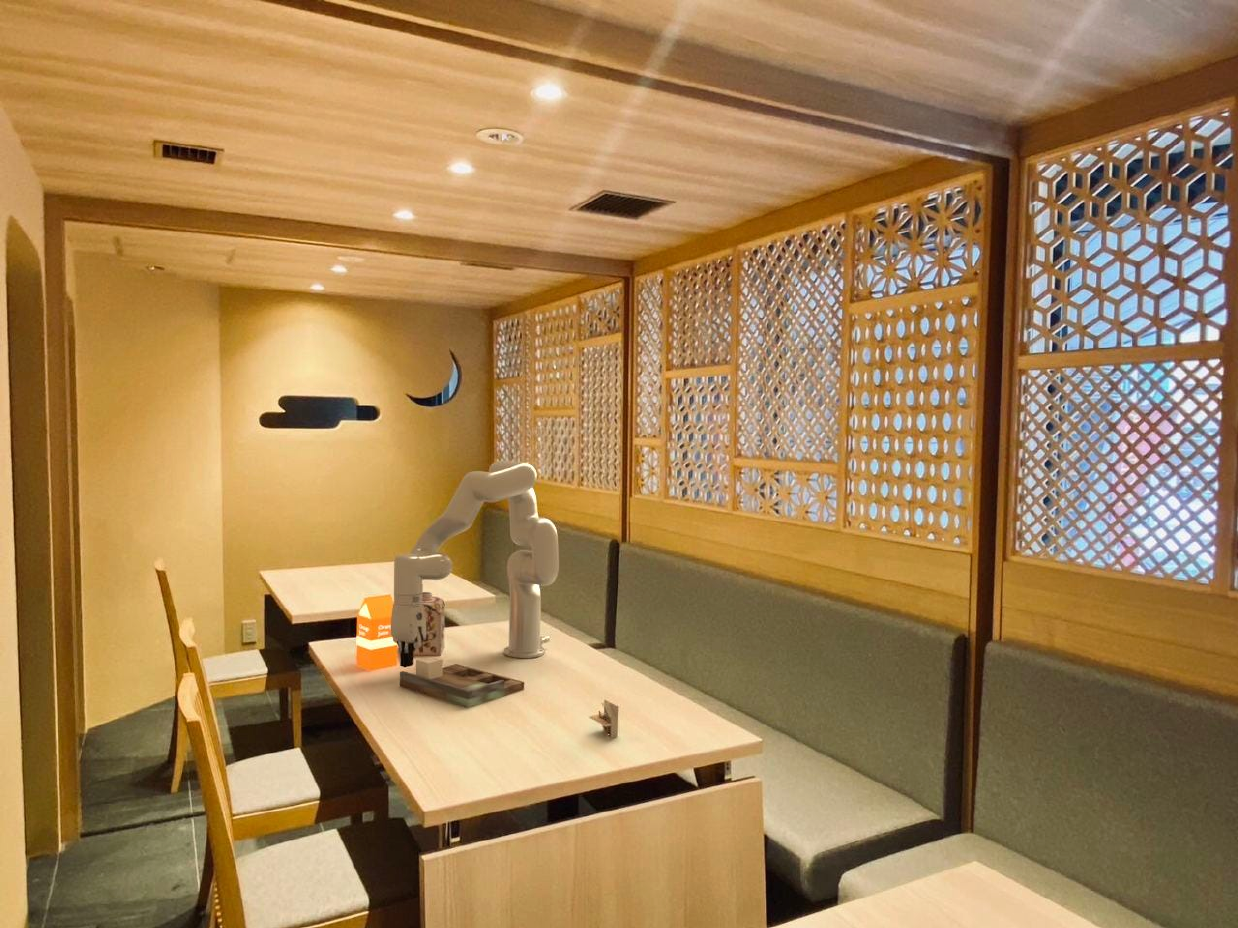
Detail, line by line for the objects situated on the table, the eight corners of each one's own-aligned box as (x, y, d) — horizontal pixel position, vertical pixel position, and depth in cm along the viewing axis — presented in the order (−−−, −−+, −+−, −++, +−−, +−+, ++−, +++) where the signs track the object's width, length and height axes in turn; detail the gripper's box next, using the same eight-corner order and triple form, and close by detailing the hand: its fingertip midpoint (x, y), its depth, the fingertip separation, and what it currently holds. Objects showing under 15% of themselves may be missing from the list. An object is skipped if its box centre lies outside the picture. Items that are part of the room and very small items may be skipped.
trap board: (456, 670, 248) (456, 656, 248) (524, 689, 233) (524, 674, 233) (399, 686, 232) (399, 671, 232) (468, 707, 217) (468, 691, 217)
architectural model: (605, 741, 198) (606, 708, 197) (588, 732, 203) (589, 700, 203) (618, 738, 200) (619, 706, 199) (601, 729, 205) (602, 698, 205)
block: (429, 672, 239) (430, 656, 239) (442, 675, 236) (442, 659, 236) (415, 676, 235) (415, 659, 235) (428, 679, 232) (428, 663, 232)
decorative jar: (406, 646, 274) (407, 589, 273) (444, 646, 275) (445, 589, 274) (401, 656, 262) (402, 596, 261) (441, 656, 263) (442, 596, 262)
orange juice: (397, 665, 253) (398, 596, 252) (370, 671, 246) (371, 600, 245) (382, 659, 258) (383, 592, 257) (355, 665, 252) (356, 595, 251)
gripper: (436, 601, 239) (435, 668, 240) (400, 593, 248) (399, 658, 249) (415, 605, 233) (414, 673, 234) (379, 597, 242) (378, 663, 243)
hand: (406, 665), depth 241 cm, fingers closed
